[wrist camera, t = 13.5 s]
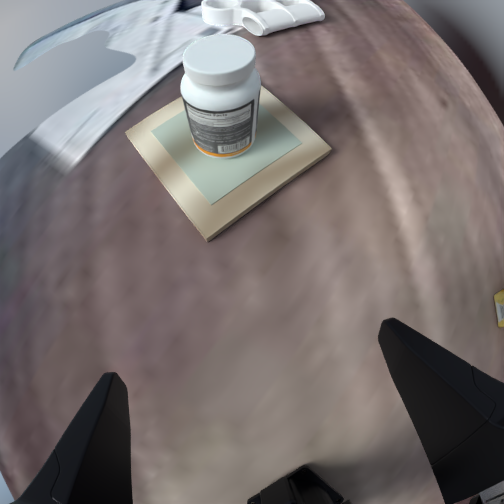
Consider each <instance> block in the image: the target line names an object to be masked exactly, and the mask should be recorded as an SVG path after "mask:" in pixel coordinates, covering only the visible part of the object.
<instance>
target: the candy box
mask: <svg viewBox="0 0 504 504" xmlns="http://www.w3.org/2000/svg"><path fill="white" fill-rule="evenodd" d="M494 301H495V307H496V313H497V320H498V327H504V289H503V290H501V291H500V292H498V293H497V294H495V295H494Z"/></svg>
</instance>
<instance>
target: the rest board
mask: <svg viewBox="0 0 504 504" xmlns="http://www.w3.org/2000/svg"><path fill="white" fill-rule="evenodd" d="M125 133H126V135H127V137H128V138H129V140H130V141H131V142H132V144H133V145H134V147H135V148H136V149H137V151H138V152H139V153H140V155H141V156H142V157H143V159H144V160H145V161H146V163H147V164H148V165H149V167H150V168H151V169H152V171H153V172H154V173H155V175H156V176H157V177H158V179H159V180H160V181H161V183H162V184H163V185H164V187H165V188H166V189H167V191H168V192H169V193H170V195H171V196H172V197H173V198H174V200H175V201H176V202H177V204H178V205H179V206H180V208H181V209H182V210H183V211H184V213H185V214H186V215H187V217H188V218H189V219H190V221H191V222H192V223H193V224H194V226H195V227H196V228H197V230H198V231H199V232H200V233H201V235H202V236H203V237H204V238H205V240H206V241H207V242H209V241H210V240H211V239H213V238H214V237H215V236H217V235H218V234H219V233H221V232H222V231H223V230H225V229H226V228H227V227H229V226H230V225H231V224H233V223H234V222H235V221H237V220H238V219H239V218H241V217H242V216H243V215H245V214H246V213H247V212H249V211H250V210H252V209H253V208H254V207H256V206H257V205H258V204H260V203H261V202H262V201H264V200H265V199H267V198H268V197H269V196H271V195H272V194H273V193H275V192H276V191H278V190H279V189H280V188H282V187H283V186H284V185H286V184H287V183H289V182H290V181H291V180H293V179H294V178H296V177H297V176H298V175H300V174H301V173H303V172H304V171H306V170H307V169H308V168H310V167H311V166H313V165H314V164H316V163H317V162H318V161H320V160H321V159H323V158H324V157H326V156H327V155H328V154H329V153H330V151H331V149H332V148H331V147H330V146H329V145H328V144H327V143H326V142H325V141H324V140H323V139H322V138H320V137H319V136H318V135H317V134H316V133H315V132H314V131H313V130H312V129H311V128H310V127H309V126H308V125H307V124H306V123H305V122H303V121H302V120H301V119H300V118H299V117H298V116H297V115H296V114H295V113H293V112H292V111H291V110H290V109H289V108H288V107H287V106H285V105H284V104H283V103H282V102H281V101H280V100H278V99H277V98H276V97H275V96H274V95H272V94H271V93H270V92H269V91H268V90H266V89H265V88H264V87H263V86H261V91H260V100H259V110H258V123H257V132H256V137H255V140H254V142H253V144H252V146H251V147H250V148H249V149H248V150H247V151H245V152H244V153H243V154H241V155H239V156H236V157H233V158H228V159H217V158H212V157H209V156H207V155H205V154H203V153H202V152H200V151H199V150H198V149H197V147H196V146H195V144H194V141H193V139H192V135H191V131H190V127H189V123H188V120H187V116H186V112H185V108H184V103H183V99H182V97H180V98H178V99H176V100H175V101H173V102H171V103H170V104H168V105H166V106H165V107H163V108H161V109H160V110H158V111H156V112H155V113H153V114H152V115H150V116H148V117H147V118H145V119H144V120H142V121H141V122H139V123H138V124H136V125H135V126H133V127H132V128H130V129H129V130H128V131H126V132H125Z"/></svg>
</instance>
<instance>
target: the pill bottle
mask: <svg viewBox="0 0 504 504" xmlns="http://www.w3.org/2000/svg"><path fill="white" fill-rule="evenodd" d="M255 59H256V53H255V48H254V46H253V45H252V44H251V43H250V42H249V41H248V40H246V39H244V38H242V37H239V36H235V35H229V34H217V35H210V36H206V37H203V38H200V39H198V40H196V41H194V42H193V43H192V44H190V45H189V46H188V47H187V48H186V50H185V51H184V54H183V65H184V70H185V74H184V76H183V78H182V81H181V96H182V99H183V103H184V108H185V112H186V116H187V120H188V123H189V127H190V131H191V135H192V139H193V141H194V144H195V146H196V147H197V149H198V150H199V151H200V152H202V153H203V154H205V155H207V156H209V157H212V158H217V159H228V158H233V157H236V156H239V155H241V154H243V153H244V152H245V151H247V150H248V149H249V148H250V147H251V146H252V144H253V142H254V140H255V137H256V132H257V123H258V110H259V100H260V91H261V79H260V76H259V73H258V71H257V70H256V68H255Z"/></svg>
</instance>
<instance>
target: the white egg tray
mask: <svg viewBox="0 0 504 504" xmlns="http://www.w3.org/2000/svg"><path fill="white" fill-rule="evenodd" d="M201 5H202V17H203V20H204V22H206V23H208V24H211V25H217V26H226V25H241V26H244V27H245V28H246V29H247V30H248V31H249V32H251V33H252V34H254V35H257V36H261V35H267V34H268V33H271V32H275V31H278V30H282V29H286V28H290V27H296V26H298V25H302V24H306V23H311V22H315V21H323V19H324V18H325V14H324V12H323V11H322V9H321V8H320V7H319V6H317V5H316V4H314V3H313V2H312V1H310V0H203V1H202V4H201ZM256 12H259V13H256Z"/></svg>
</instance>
